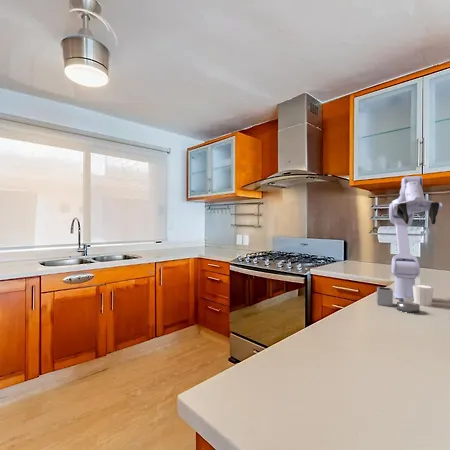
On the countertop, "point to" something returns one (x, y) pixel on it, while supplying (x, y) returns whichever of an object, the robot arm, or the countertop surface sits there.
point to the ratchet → (408, 305)
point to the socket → (384, 296)
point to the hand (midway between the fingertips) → (420, 221)
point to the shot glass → (423, 294)
